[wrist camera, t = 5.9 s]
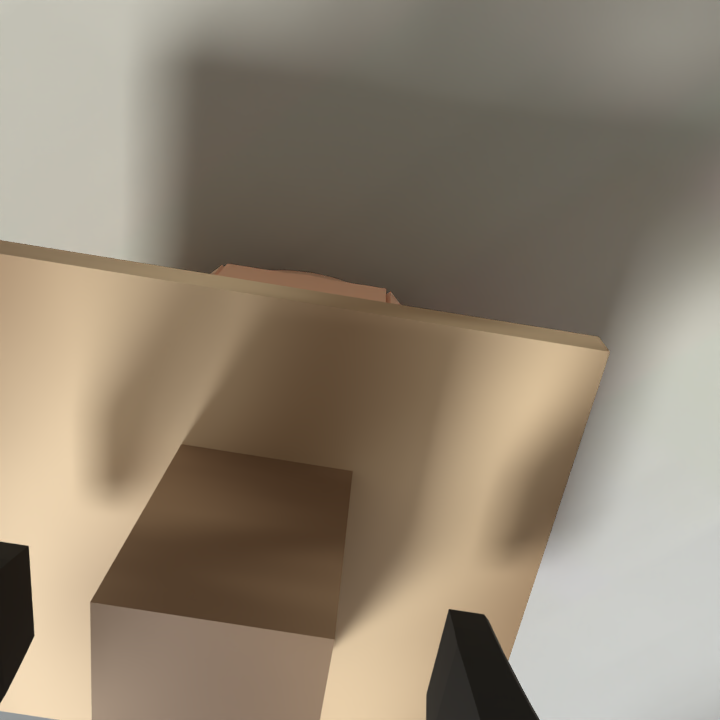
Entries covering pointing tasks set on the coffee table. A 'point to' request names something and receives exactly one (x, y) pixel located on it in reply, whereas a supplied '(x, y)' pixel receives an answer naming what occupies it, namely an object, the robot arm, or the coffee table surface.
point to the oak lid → (266, 487)
